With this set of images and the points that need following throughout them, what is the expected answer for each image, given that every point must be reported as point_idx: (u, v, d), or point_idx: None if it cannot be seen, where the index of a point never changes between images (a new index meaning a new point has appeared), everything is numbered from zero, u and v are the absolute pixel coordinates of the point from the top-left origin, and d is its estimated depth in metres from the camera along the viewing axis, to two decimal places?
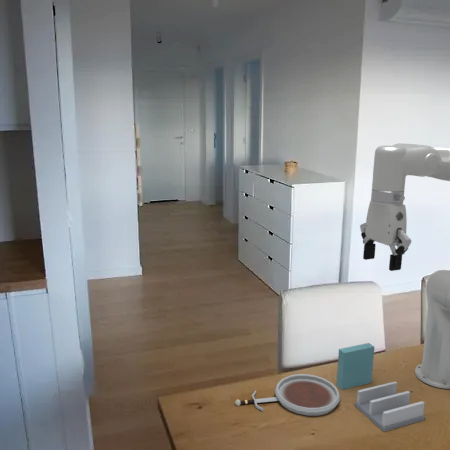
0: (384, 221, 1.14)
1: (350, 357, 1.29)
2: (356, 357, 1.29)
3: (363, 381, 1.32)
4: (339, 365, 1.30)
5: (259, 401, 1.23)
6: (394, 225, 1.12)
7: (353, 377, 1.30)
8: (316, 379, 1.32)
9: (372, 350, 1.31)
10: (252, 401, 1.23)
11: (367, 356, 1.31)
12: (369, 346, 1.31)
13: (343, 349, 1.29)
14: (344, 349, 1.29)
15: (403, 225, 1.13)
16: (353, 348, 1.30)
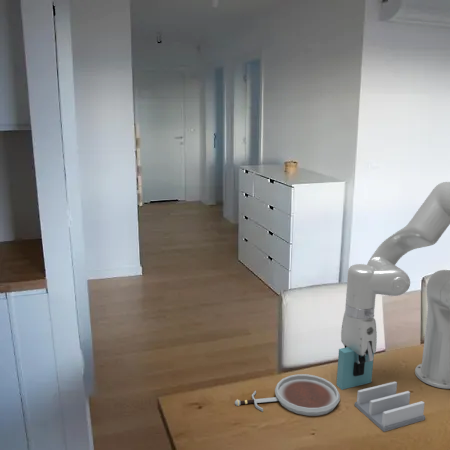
0: (356, 334, 1.26)
1: (350, 357, 1.29)
2: None
3: (363, 381, 1.32)
4: (339, 365, 1.30)
5: (259, 401, 1.23)
6: (365, 339, 1.24)
7: (353, 377, 1.30)
8: (316, 379, 1.32)
9: None
10: (252, 401, 1.23)
11: None
12: None
13: (343, 349, 1.29)
14: (344, 349, 1.29)
15: (373, 338, 1.25)
16: None
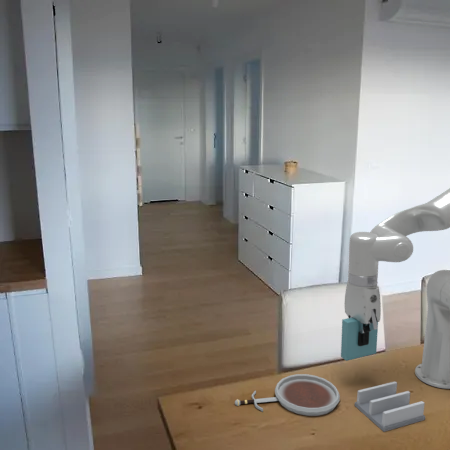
0: (360, 302, 1.24)
1: (354, 327, 1.27)
2: None
3: (368, 352, 1.30)
4: (343, 336, 1.28)
5: (259, 401, 1.23)
6: (369, 307, 1.22)
7: (357, 348, 1.29)
8: (316, 379, 1.32)
9: None
10: (252, 401, 1.23)
11: None
12: None
13: (346, 319, 1.27)
14: (347, 319, 1.27)
15: (377, 306, 1.23)
16: None
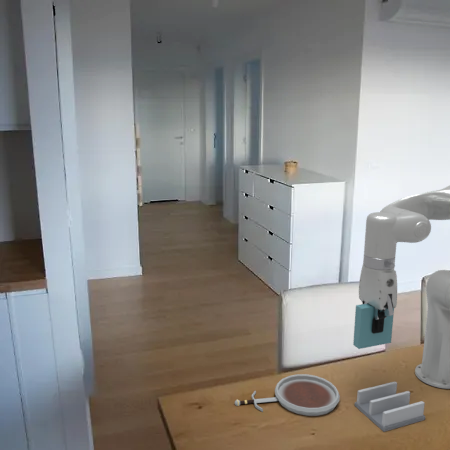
0: (375, 286, 1.17)
1: (368, 314, 1.20)
2: (374, 313, 1.21)
3: (382, 341, 1.23)
4: (356, 322, 1.21)
5: (259, 401, 1.23)
6: (385, 291, 1.15)
7: (371, 336, 1.22)
8: (316, 379, 1.32)
9: None
10: (252, 401, 1.23)
11: None
12: None
13: (360, 305, 1.21)
14: (361, 305, 1.21)
15: (394, 291, 1.16)
16: (371, 305, 1.21)
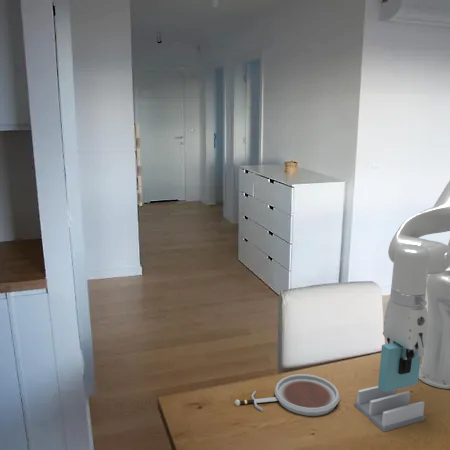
0: (404, 324, 1.09)
1: (395, 355, 1.11)
2: None
3: (409, 382, 1.15)
4: (382, 363, 1.12)
5: (259, 401, 1.23)
6: (415, 330, 1.07)
7: (397, 377, 1.13)
8: (316, 379, 1.32)
9: None
10: (252, 401, 1.23)
11: None
12: None
13: (387, 345, 1.12)
14: (388, 345, 1.12)
15: (424, 329, 1.08)
16: (398, 344, 1.12)
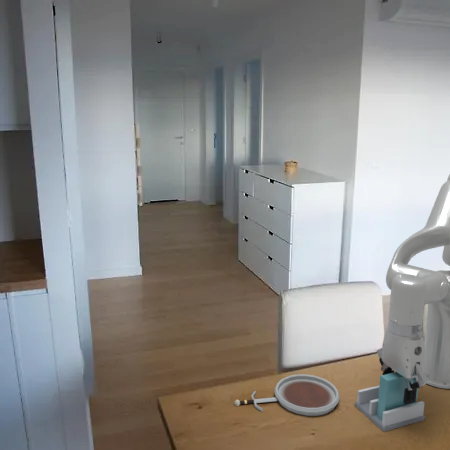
0: (402, 354, 1.10)
1: (393, 385, 1.13)
2: (400, 384, 1.14)
3: None
4: (380, 394, 1.15)
5: (258, 401, 1.23)
6: (412, 360, 1.09)
7: (396, 407, 1.15)
8: (316, 379, 1.32)
9: None
10: (251, 401, 1.23)
11: (412, 383, 1.16)
12: None
13: (385, 376, 1.14)
14: (386, 376, 1.14)
15: (421, 359, 1.10)
16: (396, 375, 1.15)
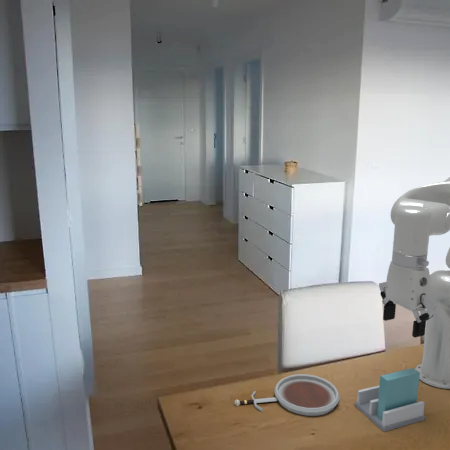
0: (407, 286, 1.08)
1: (393, 385, 1.13)
2: (400, 384, 1.14)
3: None
4: (380, 394, 1.15)
5: (258, 401, 1.23)
6: (418, 291, 1.06)
7: (396, 407, 1.15)
8: (315, 379, 1.32)
9: (417, 376, 1.16)
10: (251, 401, 1.23)
11: (412, 383, 1.16)
12: (414, 372, 1.16)
13: (385, 376, 1.14)
14: (386, 376, 1.14)
15: (427, 290, 1.07)
16: (396, 375, 1.15)
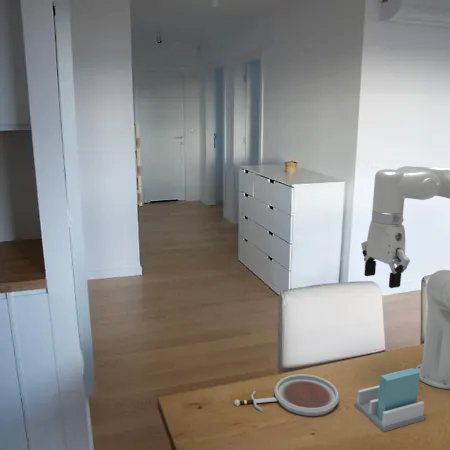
0: (384, 241, 1.20)
1: (393, 385, 1.13)
2: (400, 384, 1.14)
3: None
4: (380, 394, 1.15)
5: (258, 401, 1.23)
6: (393, 245, 1.19)
7: (396, 407, 1.15)
8: (315, 379, 1.32)
9: (417, 376, 1.16)
10: (251, 401, 1.23)
11: (412, 383, 1.16)
12: (414, 372, 1.16)
13: (385, 376, 1.14)
14: (386, 376, 1.14)
15: (402, 245, 1.19)
16: (396, 375, 1.15)
